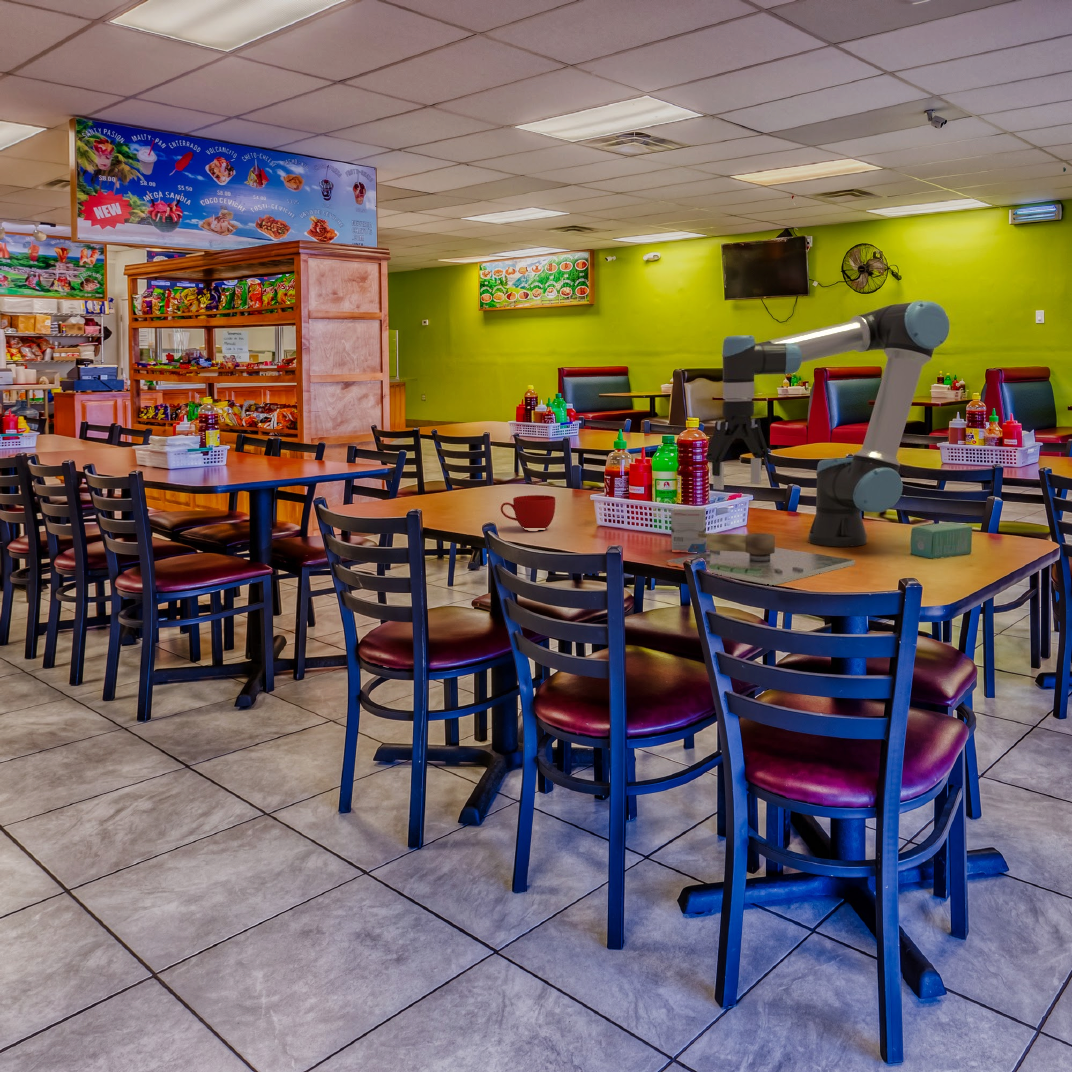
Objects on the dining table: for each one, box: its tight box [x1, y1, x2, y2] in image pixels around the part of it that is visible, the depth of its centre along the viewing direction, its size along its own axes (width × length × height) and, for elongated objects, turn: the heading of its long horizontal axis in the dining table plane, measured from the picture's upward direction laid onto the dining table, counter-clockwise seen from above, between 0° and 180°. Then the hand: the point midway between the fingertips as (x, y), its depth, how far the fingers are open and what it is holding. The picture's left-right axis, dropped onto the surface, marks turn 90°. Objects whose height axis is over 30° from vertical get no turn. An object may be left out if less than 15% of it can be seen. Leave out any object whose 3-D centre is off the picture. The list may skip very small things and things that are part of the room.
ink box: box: [670, 506, 707, 554], centre depth 250 cm, size 9×5×12 cm, turn 70°
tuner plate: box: [666, 547, 856, 586], centre depth 232 cm, size 32×32×3 cm
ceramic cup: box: [500, 494, 556, 529], centre depth 290 cm, size 13×17×10 cm
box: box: [910, 521, 973, 560], centre depth 239 cm, size 7×14×8 cm, turn 113°
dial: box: [698, 532, 776, 555], centre depth 233 cm, size 19×7×4 cm, turn 69°
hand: (737, 486), depth 235 cm, fingers open, 13 cm apart
